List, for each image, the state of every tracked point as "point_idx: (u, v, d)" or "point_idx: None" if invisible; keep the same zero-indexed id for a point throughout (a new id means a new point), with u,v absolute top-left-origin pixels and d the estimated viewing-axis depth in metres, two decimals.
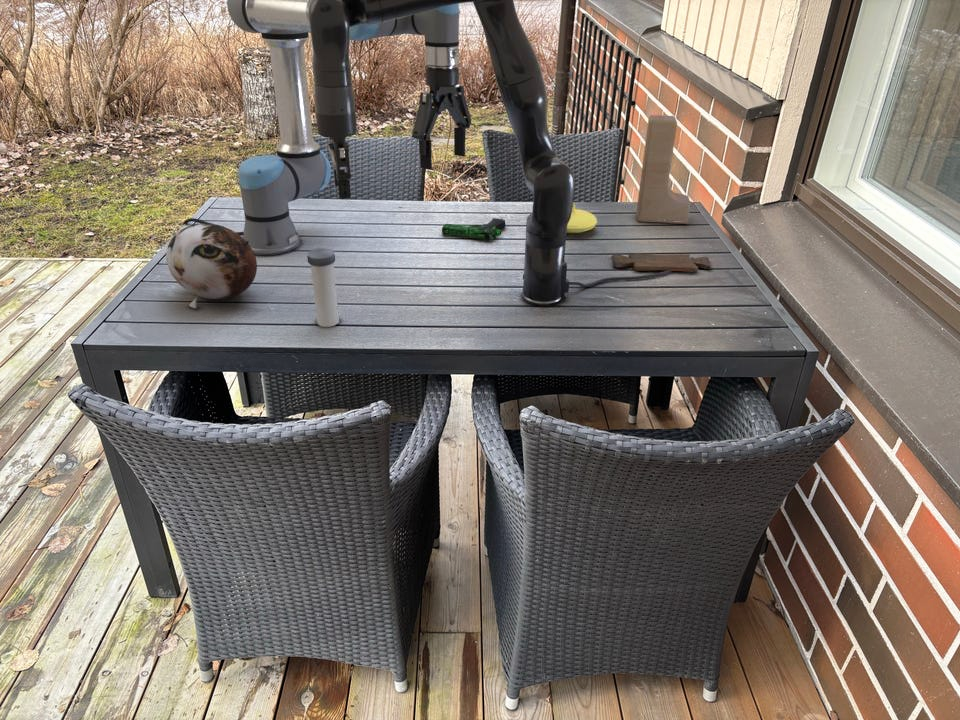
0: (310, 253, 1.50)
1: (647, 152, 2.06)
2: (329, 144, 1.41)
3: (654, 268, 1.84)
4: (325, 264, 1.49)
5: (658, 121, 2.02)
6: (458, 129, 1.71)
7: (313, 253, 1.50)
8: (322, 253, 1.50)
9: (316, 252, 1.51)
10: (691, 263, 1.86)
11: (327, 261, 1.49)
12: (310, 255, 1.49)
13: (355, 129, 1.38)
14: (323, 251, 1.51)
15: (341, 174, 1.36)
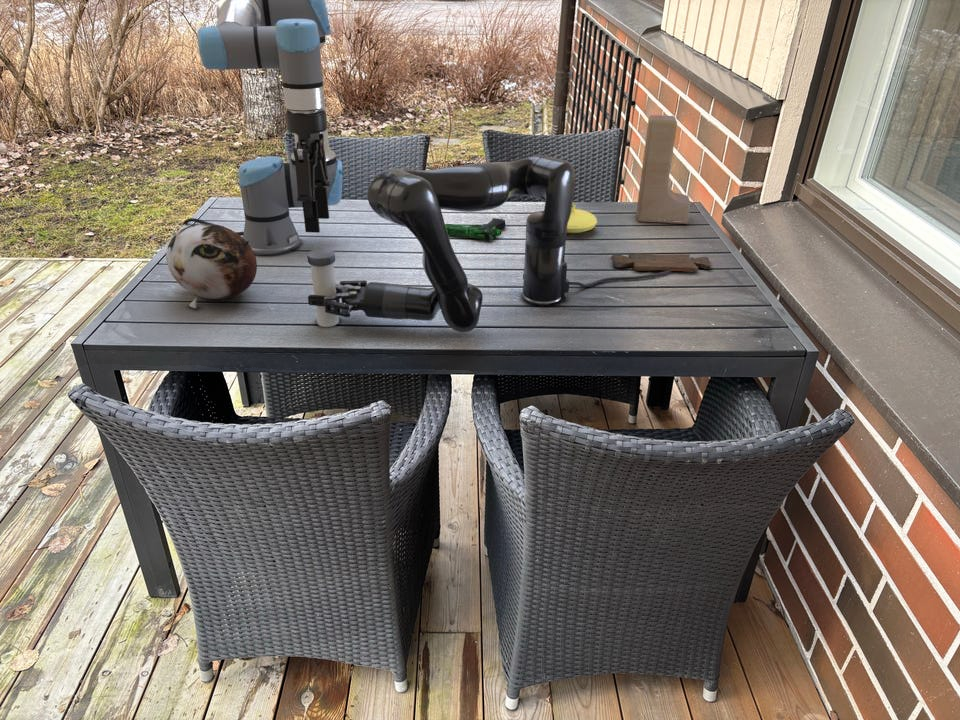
0: (310, 253, 1.50)
1: (647, 152, 2.06)
2: None
3: (654, 268, 1.84)
4: (325, 264, 1.49)
5: (658, 121, 2.02)
6: None
7: (313, 253, 1.50)
8: (322, 253, 1.50)
9: (316, 252, 1.51)
10: (691, 263, 1.86)
11: (327, 261, 1.49)
12: (310, 255, 1.49)
13: (373, 282, 1.54)
14: (323, 251, 1.51)
15: None
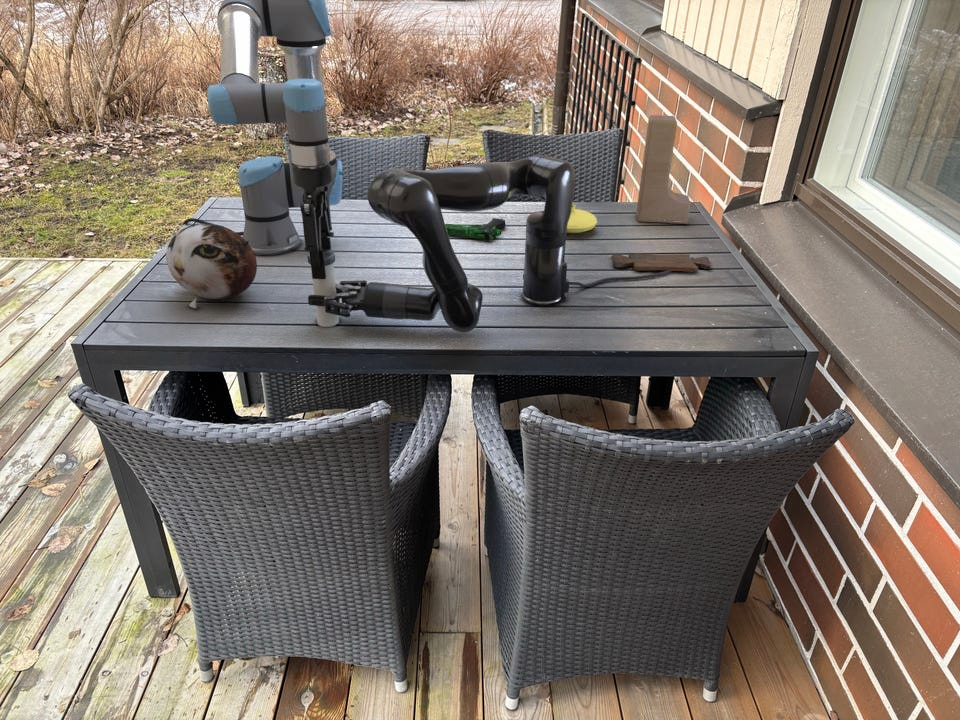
0: None
1: (647, 152, 2.06)
2: None
3: (654, 268, 1.84)
4: (325, 264, 1.49)
5: (658, 121, 2.02)
6: None
7: None
8: None
9: None
10: (691, 263, 1.86)
11: (327, 261, 1.49)
12: None
13: (373, 282, 1.54)
14: (323, 251, 1.51)
15: None
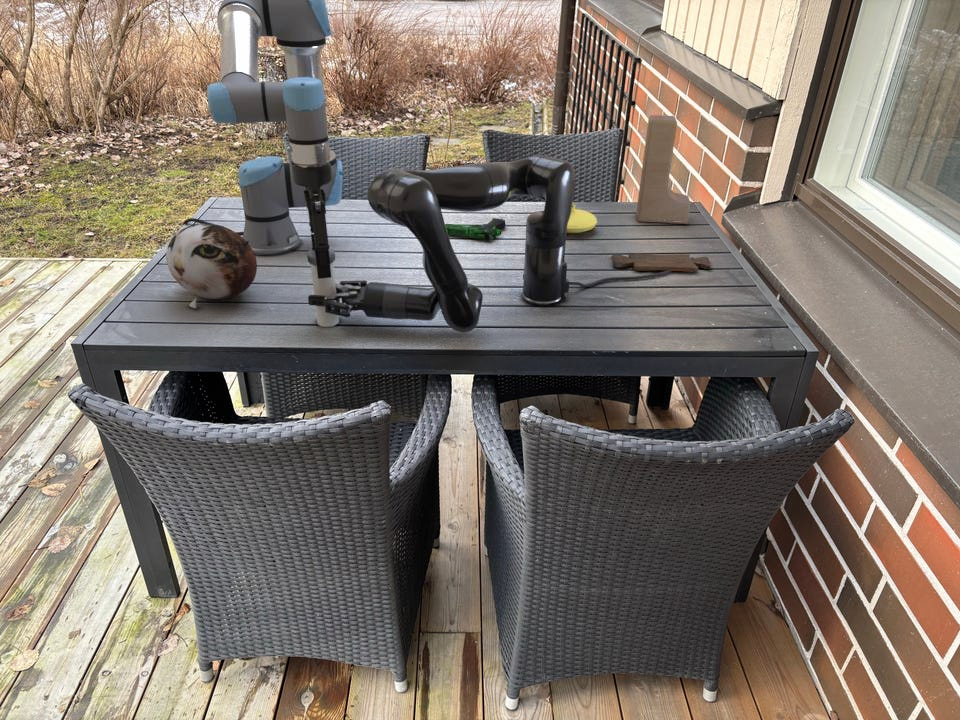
0: None
1: (647, 152, 2.06)
2: None
3: (654, 268, 1.84)
4: None
5: (658, 121, 2.02)
6: None
7: None
8: None
9: None
10: (691, 263, 1.86)
11: None
12: None
13: (374, 282, 1.54)
14: None
15: None
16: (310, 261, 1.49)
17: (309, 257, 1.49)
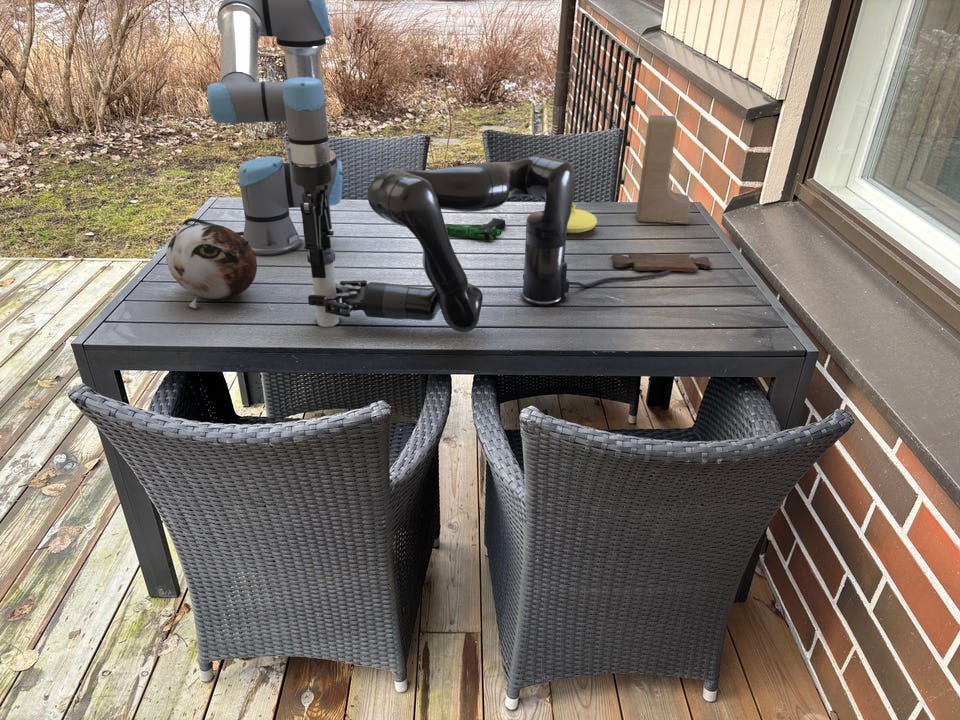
0: None
1: (647, 152, 2.06)
2: None
3: (654, 268, 1.84)
4: None
5: (658, 121, 2.02)
6: None
7: None
8: None
9: None
10: (691, 263, 1.86)
11: None
12: (327, 255, 1.49)
13: (374, 282, 1.54)
14: None
15: None
16: None
17: (309, 257, 1.49)
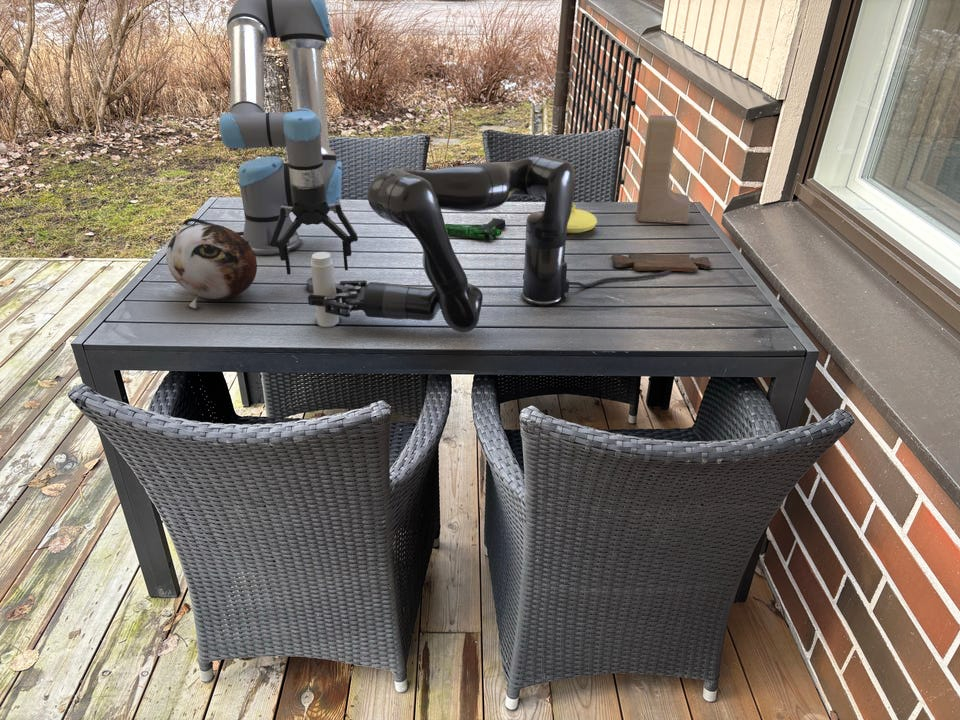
0: None
1: (647, 152, 2.06)
2: None
3: (654, 268, 1.84)
4: None
5: (658, 121, 2.02)
6: None
7: None
8: None
9: None
10: (691, 263, 1.86)
11: None
12: None
13: (374, 282, 1.54)
14: None
15: None
16: None
17: None
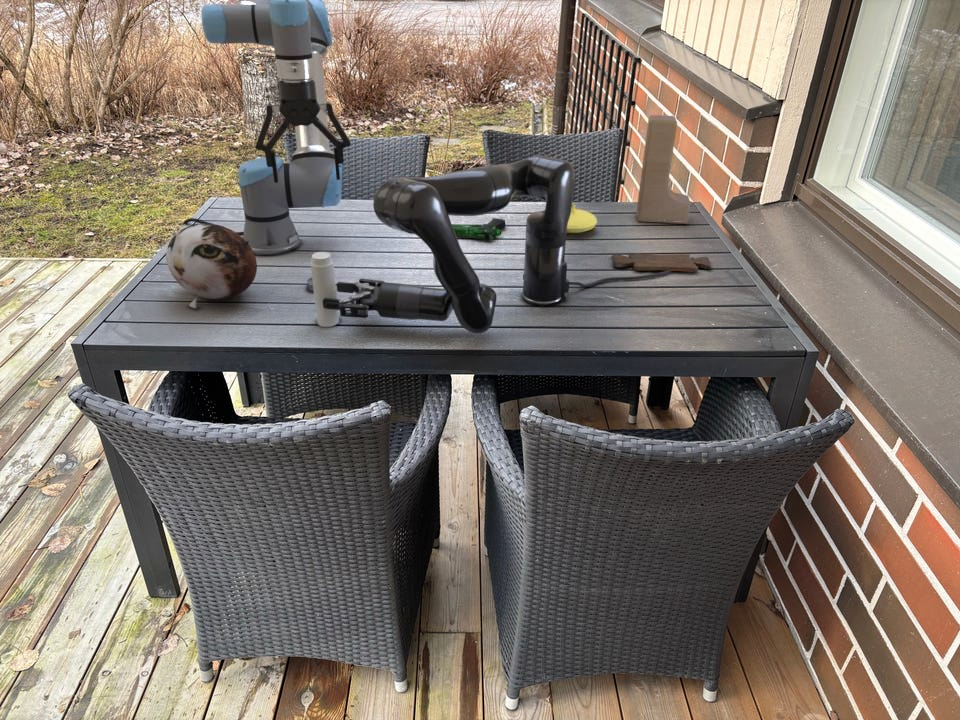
0: None
1: (647, 152, 2.06)
2: None
3: (654, 268, 1.84)
4: None
5: (658, 121, 2.02)
6: (334, 150, 1.59)
7: None
8: None
9: None
10: (691, 263, 1.86)
11: None
12: None
13: (387, 282, 1.53)
14: None
15: None
16: None
17: None
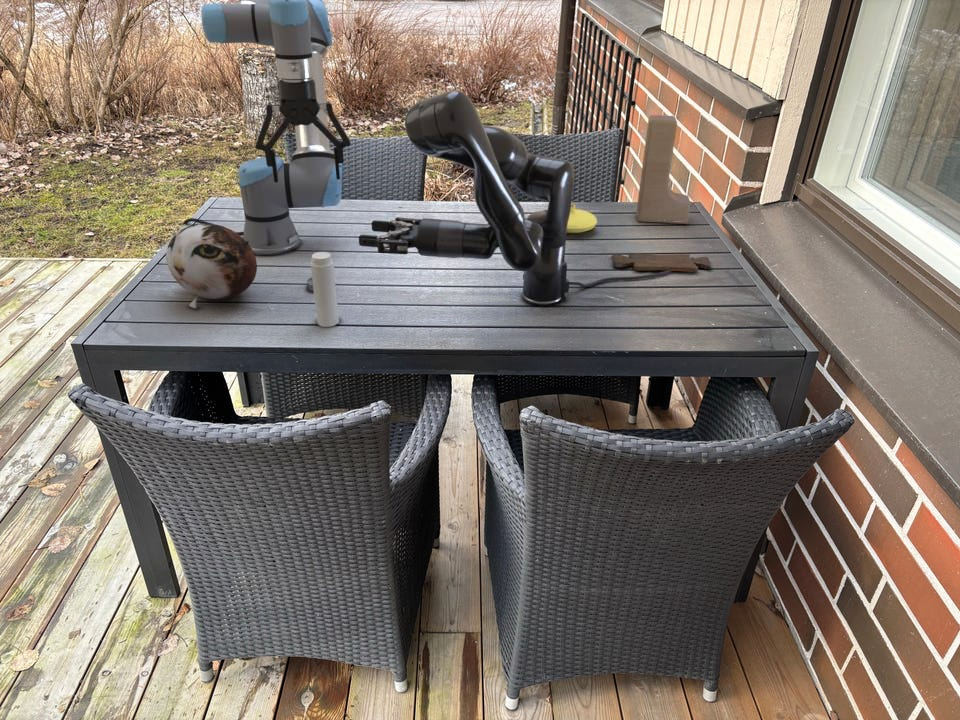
0: None
1: (647, 152, 2.06)
2: None
3: (654, 268, 1.84)
4: None
5: (658, 121, 2.02)
6: (334, 149, 1.59)
7: None
8: None
9: None
10: (691, 263, 1.86)
11: None
12: None
13: None
14: None
15: None
16: None
17: None
